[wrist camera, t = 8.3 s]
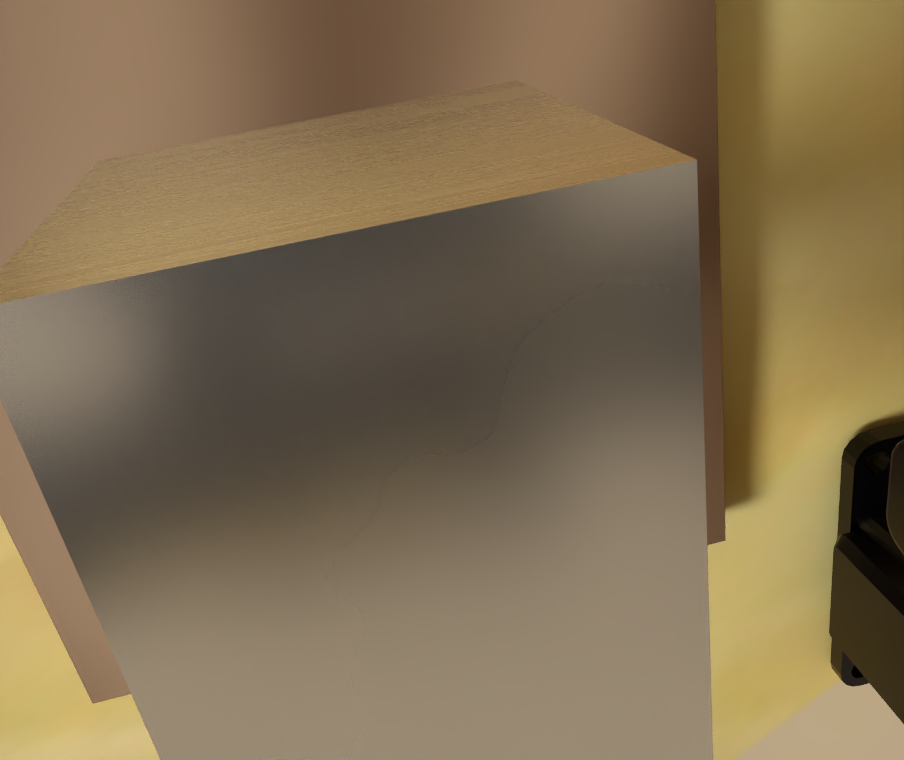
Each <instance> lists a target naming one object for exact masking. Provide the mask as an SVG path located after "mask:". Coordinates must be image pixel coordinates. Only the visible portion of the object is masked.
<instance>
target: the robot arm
mask: <svg viewBox="0 0 904 760" xmlns="http://www.w3.org/2000/svg"><path fill="white" fill-rule="evenodd" d="M875 453H876V455H875V456H874V457H873V459H872V460H871V461H869V462H867V460H868V459H869V458H870V457H871V456H872V455H873V454H875ZM829 632H830V636H831V637H832V646H831V666H832V669H833V670H834V671H835V672H836V674H837V675H838V676H839V677H840V679H841V680H842V681H843V682H844V683H845V684H846V685H849V686H859V685H864V684H867V683H870V684H871V685H872V686H873V688H874V689H875V690H876V691H877V692H878V694H879V695H880V696H881V697H882V698H883V699H884V701H885V702H886V703H887V704H888V705H889V707H890V708H891V709H892V710H893V712H894V713H895V714H896V715H897V716H898V718H899V719H900V720H901V721H902V722H903V724H904V422H901V423H897V424H893V425H888V426H884V427H880V428H876V429H872V430H868V431H865V432H863V433H861V434H858V435H857V436H856V437H854V438H853V439H852V440H851V441H850V442H849V443H848V445H847V446H846V448H845V449H844V452H843V456H842V465H841V483H840V501H839V519H838V537H837V541H836V544H835V546H834V553H833V571H832V590H831V609H830V628H829Z"/></svg>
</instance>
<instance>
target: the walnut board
mask: <svg viewBox="0 0 904 760" xmlns="http://www.w3.org/2000/svg"><path fill="white" fill-rule="evenodd" d="M515 80H517V81H519V82H522V83H524V84H526V85H529V86H531V87H533V88H535V89H538V90H540V91H542V92H544V93H547V94H549V95H551V96H553V97H556V98H558V99H560V100H563V101H565V102H567V103H569V104H572V105H574V106H576V107H578V108H581V109H583V110H585V111H588V112H590V113H592V114H594V115H597V116H599V117H601V118H603V119H606V120H608V121H610V122H612V123H615V124H617V125H619V126H622V127H624V128H626V129H628V130H631V131H633V132H635V133H637V134H640V135H642V136H644V137H647V138H649V139H651V140H653V141H656V142H658V143H660V144H662V145H665V146H667V147H669V148H672V149H674V150H676V151H678V152H681V153H683V154H685V155H687V156H690V157H692V158H694V159H696V160H697V180H698V217H699V255H700V292H701V330H702V367H703V405H704V442H705V480H706V517H707V545H709V544H713V543H717V542H721V541H725V494H724V440H723V387H722V333H721V280H720V226H719V173H718V119H717V66H716V12H715V0H0V268H1V267H2V266H3V265H4V264H5V263H6V262H7V261H8V260H9V259H10V257H11V256H12V255H13V254H14V253H15V252H16V251H17V250H18V249H19V248H20V246H21V245H22V244H23V243H24V242H25V241H26V240H27V239H28V238H29V237H30V236H31V234H32V233H33V232H34V231H35V230H36V229H37V228H38V227H39V226H40V225H41V224H42V222H43V221H44V220H45V219H46V218H47V217H48V216H49V215H50V214H51V213H52V211H53V210H54V209H55V208H56V207H57V206H58V205H59V204H60V203H61V202H62V201H63V199H64V198H65V197H66V196H67V195H68V194H69V193H70V192H71V191H72V190H73V188H74V187H75V186H76V185H77V184H78V183H79V182H80V181H81V180H82V179H83V178H84V176H85V175H86V174H87V173H88V172H89V171H90V170H91V169H92V168H93V167H94V165H95V164H96V163H97V162H98V161H99V160H103V159H109V158H114V157H119V156H124V155H129V154H135V153H140V152H145V151H150V150H155V149H161V148H166V147H171V146H176V145H181V144H187V143H192V142H197V141H202V140H207V139H213V138H218V137H223V136H228V135H234V134H239V133H244V132H249V131H254V130H260V129H265V128H270V127H275V126H280V125H286V124H291V123H296V122H301V121H306V120H312V119H317V118H322V117H327V116H332V115H338V114H343V113H348V112H353V111H359V110H364V109H369V108H374V107H379V106H385V105H390V104H395V103H400V102H405V101H411V100H416V99H421V98H426V97H431V96H437V95H442V94H447V93H452V92H457V91H463V90H468V89H473V88H478V87H484V86H489V85H494V84H499V83H504V82H510V81H515ZM0 515H1V517H2V519H3V521H4V523H5V525H6V527H7V529H8V531H9V534H10V536H11V538H12V540H13V542H14V544H15V546H16V548H17V550H18V552H19V554H20V556H21V558H22V560H23V562H24V564H25V566H26V568H27V570H28V572H29V574H30V576H31V578H32V580H33V582H34V585H35V587H36V589H37V591H38V593H39V595H40V597H41V599H42V601H43V603H44V605H45V607H46V609H47V611H48V613H49V615H50V617H51V619H52V621H53V623H54V625H55V627H56V629H57V631H58V634H59V636H60V638H61V640H62V642H63V644H64V646H65V648H66V650H67V652H68V654H69V656H70V658H71V660H72V662H73V664H74V666H75V668H76V670H77V672H78V674H79V676H80V678H81V680H82V682H83V685H84V687H85V689H86V691H87V693H88V695H89V697H90V699H91V701H92V703H97V702H101V701H105V700H109V699H112V698H116V697H120V696H124V695H128V694H131V692H130V690H129V687H128V685H127V683H126V681H125V678H124V676H123V674H122V672H121V669H120V667H119V665H118V663H117V660H116V658H115V656H114V654H113V651H112V649H111V647H110V645H109V642H108V640H107V638H106V636H105V633H104V631H103V629H102V627H101V624H100V622H99V620H98V618H97V615H96V613H95V611H94V609H93V606H92V604H91V602H90V600H89V597H88V595H87V593H86V591H85V588H84V586H83V584H82V582H81V579H80V577H79V575H78V573H77V570H76V568H75V566H74V564H73V561H72V559H71V557H70V555H69V552H68V550H67V548H66V546H65V543H64V541H63V539H62V537H61V534H60V532H59V530H58V528H57V525H56V523H55V521H54V519H53V516H52V514H51V512H50V510H49V507H48V505H47V503H46V501H45V498H44V496H43V494H42V492H41V489H40V487H39V485H38V483H37V480H36V478H35V476H34V474H33V471H32V469H31V467H30V465H29V462H28V460H27V458H26V456H25V453H24V451H23V449H22V447H21V444H20V442H19V440H18V438H17V435H16V433H15V431H14V429H13V426H12V424H11V422H10V420H9V417H8V415H7V413H6V411H5V408H4V406H3V404H2V402H1V399H0Z"/></svg>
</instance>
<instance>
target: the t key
mask: <svg viewBox="0 0 904 760" xmlns="http://www.w3.org/2000/svg"><path fill="white" fill-rule="evenodd" d="M0 399H1V402H2V404H3V406H4V408H5V411H6V413H7V415H8V417H9V420H10V422H11V424H12V426H13V429H14V431H15V433H16V435H17V438H18V440H19V442H20V444H21V447H22V449H23V451H24V453H25V456H26V458H27V460H28V462H29V465H30V467H31V469H32V471H33V474H34V476H35V478H36V480H37V483H38V485H39V487H40V489H41V492H42V494H43V496H44V498H45V501H46V503H47V505H48V507H49V510H50V512H51V514H52V516H53V519H54V521H55V523H56V525H57V528H58V530H59V532H60V534H61V537H62V539H63V541H64V543H65V546H66V548H67V550H68V552H69V555H70V557H71V559H72V561H73V564H74V566H75V568H76V570H77V573H78V575H79V577H80V579H81V582H82V584H83V586H84V588H85V591H86V593H87V595H88V597H89V600H90V602H91V604H92V606H93V609H94V611H95V613H96V615H97V618H98V620H99V622H100V624H101V627H102V629H103V631H104V633H105V636H106V638H107V640H108V642H109V645H110V647H111V649H112V651H113V654H114V656H115V658H116V660H117V663H118V665H119V667H120V669H121V672H122V674H123V676H124V678H125V681H126V683H127V685H128V687H129V690H130V692H131V694H132V696H133V699H134V701H135V703H136V705H137V708H138V710H139V712H140V714H141V717H142V719H143V721H144V723H145V726H146V728H147V730H148V732H149V735H150V737H151V739H152V741H153V744H154V746H155V748H156V750H157V753H158V755H159V757H160V759H161V760H713V742H712V705H711V667H710V630H709V592H708V555H707V517H706V480H705V442H704V405H703V367H702V330H701V292H700V255H699V217H698V180H697V160H696V159H694V158H692V157H690V156H687V155H685V154H683V153H681V152H678V151H676V150H674V149H672V148H669V147H667V146H665V145H662V144H660V143H658V142H656V141H653V140H651V139H649V138H647V137H644V136H642V135H640V134H637V133H635V132H633V131H631V130H628V129H626V128H624V127H622V126H619V125H617V124H615V123H612V122H610V121H608V120H606V119H603V118H601V117H599V116H597V115H594V114H592V113H590V112H588V111H585V110H583V109H581V108H578V107H576V106H574V105H572V104H569V103H567V102H565V101H563V100H560V99H558V98H556V97H553V96H551V95H549V94H547V93H544V92H542V91H540V90H538V89H535V88H533V87H531V86H529V85H526V84H524V83H522V82H519V81H517V80H515V81H510V82H504V83H499V84H494V85H489V86H484V87H478V88H473V89H468V90H463V91H457V92H452V93H447V94H442V95H437V96H431V97H426V98H421V99H416V100H411V101H405V102H400V103H395V104H390V105H385V106H379V107H374V108H369V109H364V110H359V111H353V112H348V113H343V114H338V115H332V116H327V117H322V118H317V119H312V120H306V121H301V122H296V123H291V124H286V125H280V126H275V127H270V128H265V129H260V130H254V131H249V132H244V133H239V134H234V135H228V136H223V137H218V138H213V139H207V140H202V141H197V142H192V143H187V144H181V145H176V146H171V147H166V148H161V149H155V150H150V151H145V152H140V153H135V154H129V155H124V156H119V157H114V158H109V159H103V160H99V161H98V162H97V163H96V164H95V165H94V167H93V168H92V169H91V170H90V171H89V172H88V173H87V174H86V175H85V176H84V178H83V179H82V180H81V181H80V182H79V183H78V184H77V185H76V186H75V187H74V188H73V190H72V191H71V192H70V193H69V194H68V195H67V196H66V197H65V198H64V199H63V201H62V202H61V203H60V204H59V205H58V206H57V207H56V208H55V209H54V210H53V211H52V213H51V214H50V215H49V216H48V217H47V218H46V219H45V220H44V221H43V222H42V224H41V225H40V226H39V227H38V228H37V229H36V230H35V231H34V232H33V233H32V234H31V236H30V237H29V238H28V239H27V240H26V241H25V242H24V243H23V244H22V245H21V246H20V248H19V249H18V250H17V251H16V252H15V253H14V254H13V255H12V256H11V257H10V259H9V260H8V261H7V262H6V263H5V264H4V265H3V266H2V267H1V268H0Z"/></svg>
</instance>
